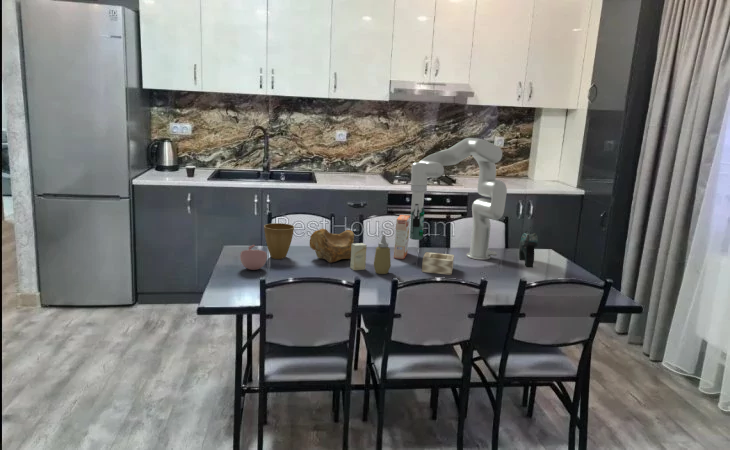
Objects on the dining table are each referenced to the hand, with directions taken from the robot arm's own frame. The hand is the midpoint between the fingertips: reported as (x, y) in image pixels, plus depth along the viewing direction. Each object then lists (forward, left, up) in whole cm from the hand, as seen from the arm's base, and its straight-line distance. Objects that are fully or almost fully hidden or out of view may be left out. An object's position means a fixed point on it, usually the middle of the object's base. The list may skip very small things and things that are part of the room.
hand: (417, 224), depth 264 cm
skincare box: (+25, +13, -22) cm, 36 cm away
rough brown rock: (+40, +2, -22) cm, 46 cm away
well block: (-12, 0, -21) cm, 24 cm away
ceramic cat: (-55, -30, -22) cm, 66 cm away
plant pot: (+67, +8, -22) cm, 71 cm away
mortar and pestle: (+70, +32, -22) cm, 80 cm away
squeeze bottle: (+13, +15, -22) cm, 29 cm away
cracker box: (+9, -19, -22) cm, 30 cm away
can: (0, 0, -7) cm, 7 cm away
